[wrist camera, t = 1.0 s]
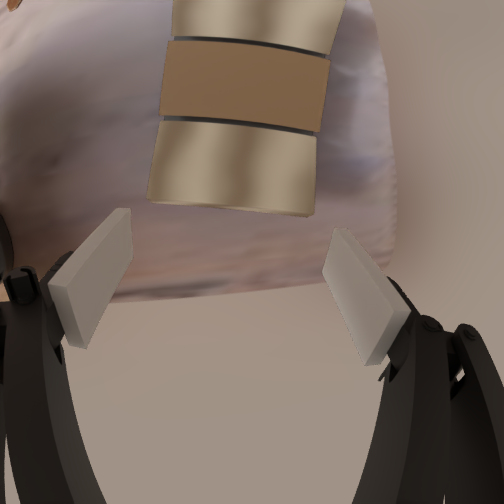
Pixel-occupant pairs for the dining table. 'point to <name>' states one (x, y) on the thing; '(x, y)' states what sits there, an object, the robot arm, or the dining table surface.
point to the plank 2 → (233, 168)
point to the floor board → (244, 84)
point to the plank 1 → (261, 21)
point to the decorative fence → (13, 4)
